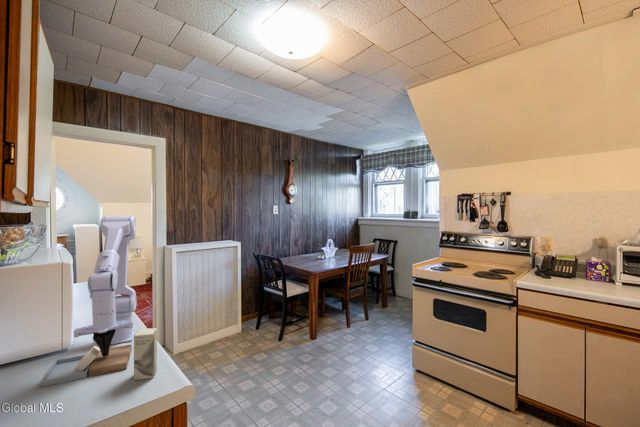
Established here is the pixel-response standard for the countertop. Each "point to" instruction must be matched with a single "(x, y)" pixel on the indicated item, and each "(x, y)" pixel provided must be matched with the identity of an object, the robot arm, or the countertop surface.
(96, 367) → the plate
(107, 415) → the countertop surface
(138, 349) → the box
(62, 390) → the countertop surface
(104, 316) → the robot arm
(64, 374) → the tray
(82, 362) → the tile
